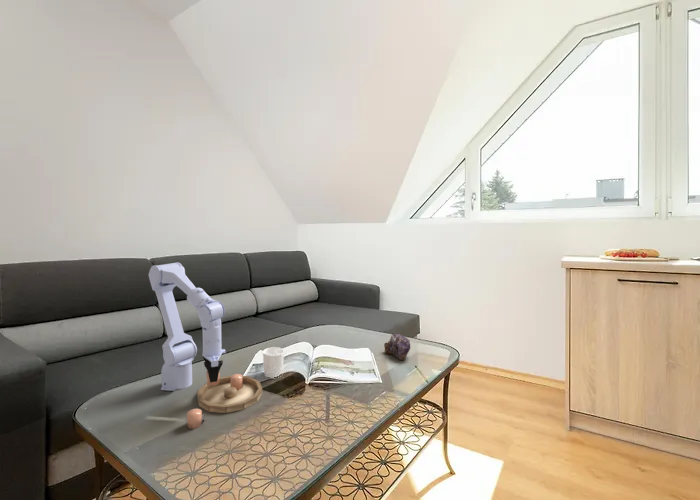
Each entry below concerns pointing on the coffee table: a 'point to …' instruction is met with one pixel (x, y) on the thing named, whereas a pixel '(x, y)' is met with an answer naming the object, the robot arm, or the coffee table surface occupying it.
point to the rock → (397, 346)
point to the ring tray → (220, 398)
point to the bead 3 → (236, 381)
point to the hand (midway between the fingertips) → (212, 378)
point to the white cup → (273, 361)
